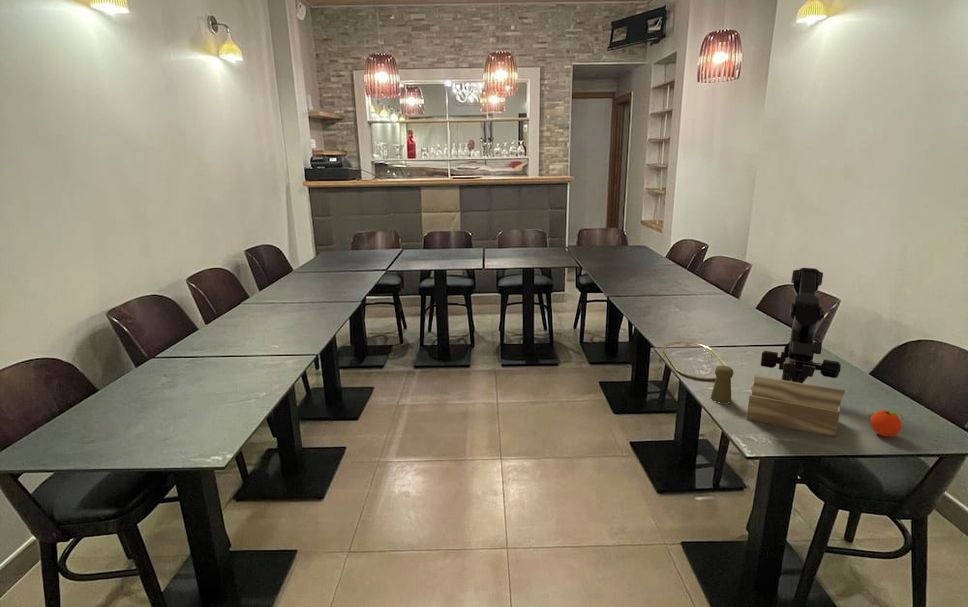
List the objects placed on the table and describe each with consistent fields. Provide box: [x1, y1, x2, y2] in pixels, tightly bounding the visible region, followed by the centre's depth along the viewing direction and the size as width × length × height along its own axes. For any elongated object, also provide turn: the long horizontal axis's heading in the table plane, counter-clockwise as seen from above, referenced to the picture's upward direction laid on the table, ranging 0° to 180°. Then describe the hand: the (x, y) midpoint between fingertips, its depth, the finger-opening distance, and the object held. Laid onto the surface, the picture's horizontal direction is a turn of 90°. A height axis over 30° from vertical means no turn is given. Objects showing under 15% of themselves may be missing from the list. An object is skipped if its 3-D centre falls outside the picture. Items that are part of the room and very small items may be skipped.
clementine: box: [869, 409, 904, 437], centre depth 146 cm, size 8×7×7 cm
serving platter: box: [662, 341, 727, 381], centre depth 198 cm, size 19×35×2 cm, turn 176°
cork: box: [710, 365, 734, 404], centre depth 167 cm, size 6×6×11 cm
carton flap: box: [752, 374, 845, 411], centre depth 145 cm, size 11×21×1 cm
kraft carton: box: [746, 379, 841, 438], centre depth 155 cm, size 12×22×8 cm, turn 61°
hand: (795, 392), depth 145 cm, fingers closed, pressing on carton flap
